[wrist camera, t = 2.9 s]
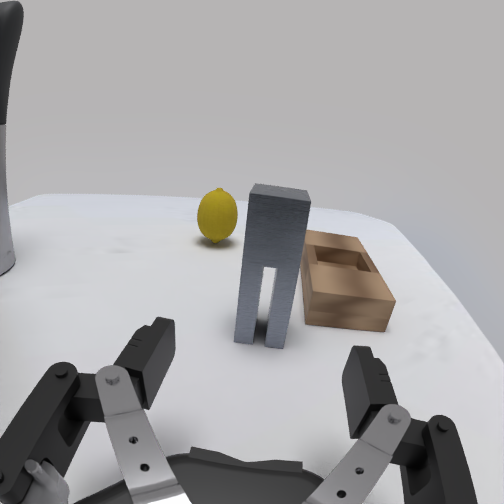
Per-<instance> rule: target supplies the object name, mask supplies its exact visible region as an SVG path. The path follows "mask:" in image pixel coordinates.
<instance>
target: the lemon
mask: <svg viewBox="0 0 504 504" xmlns="http://www.w3.org/2000/svg"><path fill="white" fill-rule="evenodd" d="M197 221H198V226H199V229H200V231H201V232H202V234H203V235H204V236H205V237H207V238H209V239H211V241H212V242H213V243H218V242H219V241H220V240H223V239H225V238H227V237H228V236H230V235H231V234H232V232H233V231H234V229H235V226H236V223H237V206H236V203H235V200H234V199H233V197H232V196H231V195H230V194H229V193H227V192H225V191H223V189H222V188H217V189H216V190H214V191H211V192H209V193H208V194H206V195H205V196H204V197H203V199H202V200H201V203H200V205H199V209H198V214H197Z"/></svg>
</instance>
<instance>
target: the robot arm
mask: <svg viewBox="0 0 504 504" xmlns="http://www.w3.org/2000/svg"><path fill="white" fill-rule="evenodd" d="M23 13H24V12H23V7H22V5H21V4H20V2H18V1H8V2H2V3H0V275H1V274H2V273H4V272H6V271H7V270H8V269H10V268H11V267H12V266H13V264H14V263H15V254H14V248H13V241H12V235H11V227H10V218H9V209H8V199H7V185H6V157H5V156H6V154H5V153H6V149H5V143H6V125H5V124H6V116H7V115H6V114H7V105H8V96H9V88H10V80H11V75H12V69H13V64H14V60H15V56H16V51H17V48H18V43H19V39H20V35H21V30H22V25H23V17H24V16H23ZM174 354H175V323H174V320H172V319H167V318H162V317H157V318H156V319H155V321H154V322H153V324H152V325H151V326H147V325H144V326H143V327H141V328H140V329H138V330H137V331H136V332H135V333H134V335H133V336H132V338H131V339H130V341H129V342H128V344H127V345H126V346H125V348H124V349H123V351H122V352H121V354H120V355H119V357H118V358H117V360H116V361H115V363H114V364H113V365H110V366H106V367H103V368H101V369H100V370H99V371H98V372H97V374H87V373H78V372H77V369H76V367H75V366H74V365H73V364H71V363H68V362H59V363H56V364H54V365H52V366H51V367H50V368H49V369H48V370H47V371H46V373H45V374H44V376H43V377H42V378H41V380H40V381H39V382H38V384H37V385H36V387H35V388H34V389H33V391H32V392H31V394H30V395H29V396H28V398H27V399H26V401H25V402H24V404H23V405H22V406H21V408H20V409H19V411H18V412H17V414H16V415H15V417H14V418H13V420H12V421H11V423H10V424H9V426H8V427H7V429H6V431H5V432H4V434H3V435H2V437H1V438H0V502H1V503H3V504H68V497H69V486H68V484H67V482H66V481H65V480H64V479H63V478H64V476H65V474H66V472H67V470H68V467H69V465H70V463H71V461H72V459H73V457H74V455H75V453H76V450H77V448H78V446H79V444H80V442H81V440H82V438H83V436H84V434H85V432H86V430H87V428H88V426H89V424H90V422H105V423H106V426H107V430H108V433H109V436H110V440H111V443H112V446H113V449H114V452H115V455H116V458H117V461H118V463H119V466H120V469H121V472H122V474H123V477H124V479H123V480H121V481H119V482H118V483H116V484H114V485H112V486H110V487H107V488H105V489H103V490H101V491H99V492H97V493H95V494H93V495H91V496H88V497H86V498H84V499H82V500H79V501H77V502H75V503H74V504H362V503H363V501H364V500H365V498H366V497H367V496H368V494H369V493H370V491H371V490H372V489H373V487H374V486H375V484H376V483H377V481H378V480H379V478H380V477H381V475H382V474H383V472H384V471H385V469H386V467H387V466H388V464H389V463H392V464H397V465H400V471H401V478H402V486H403V494H404V503H405V504H478V503H477V498H476V494H475V490H474V486H473V482H472V478H471V475H470V471H469V467H468V464H467V461H466V457H465V454H464V451H463V447H462V444H461V441H460V438H459V435H458V432H457V429H456V426H455V424H454V422H453V421H452V420H451V419H450V418H448V417H446V416H443V415H435V416H433V417H432V418H431V419H430V420H429V421H428V422H425V421H420V420H416V419H412V418H411V417H410V414H409V412H408V411H407V410H406V409H405V408H403V407H402V406H399V405H398V402H397V399H396V396H395V393H394V389H393V386H392V383H391V382H390V381H391V380H390V377H389V376H388V371H387V368H386V366H385V365H384V363H383V362H382V361H381V360H380V359H379V358H374V357H373V354H372V351H371V348H370V347H368V346H353V347H352V349H351V352H350V354H349V357H348V360H347V362H346V365H345V368H344V370H343V375H342V386H343V392H344V398H345V405H346V411H347V418H348V425H349V432H350V439H358V440H357V442H356V443H355V444H354V445H353V447H352V448H351V449H350V450H349V452H348V453H347V454H346V455H345V457H344V458H343V459H342V460H341V462H340V463H339V464H338V465H337V466H336V467H335V469H334V470H333V471H332V472H331V473H330V474H329V476H328V477H327V478H326V479H325V480H324V479H323V478H321V477H320V476H318V475H316V474H314V473H313V472H310V471H307V470H304V469H302V462H299V461H284V460H268V461H258V462H244V461H241V460H238V459H235V458H233V457H230V456H227V455H225V454H222V453H220V452H216V451H211V450H206V449H201V448H196V447H191V450H190V453H184V454H176V455H171V456H168V457H165V456H164V454H163V452H162V449H161V447H160V445H159V443H158V441H157V439H156V437H155V434H154V432H153V430H152V427H151V425H150V423H149V421H148V418H147V416H146V413H145V411H144V409H147V410H149V409H150V407H151V405H152V403H153V401H154V399H155V396H156V394H157V392H158V390H159V388H160V386H161V384H162V381H163V379H164V377H165V375H166V373H167V371H168V369H169V367H170V364H171V362H172V360H173V358H174ZM143 408H144V409H143Z"/></svg>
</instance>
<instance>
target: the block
mask: <svg viewBox="0 0 504 504" xmlns="http://www.w3.org/2000/svg"><path fill="white" fill-rule="evenodd" d="M310 204H311V200H310V197H309V195H308V192H307V191H306V190H299V189H292V188H285V187H279V186H271V185H264V184H255V185H254V187H253V188H252V190H251V191H250V194H249V203H248V212H247V221H246V231H245V240H244V249H243V259H242V268H241V278H240V287H239V297H238V307H237V316H236V326H235V336H234V342H239V343H245V344H253V338H254V332H255V326H256V320H257V313H258V306H259V299H260V292H261V285H262V278H263V270H264V267H271V268H276V271H275V277H274V283H273V290H272V296H271V302H270V308H269V314H268V321H267V330H266V339H265V346H266V347H273V348H281V349H283V347H284V342H285V337H286V333H287V328H288V323H289V318H290V314H291V309H292V304H293V299H294V294H295V289H296V284H297V278H298V273H299V268H300V262H301V257H302V251H303V246H304V240H305V235H306V229H307V223H308V217H309V211H310Z"/></svg>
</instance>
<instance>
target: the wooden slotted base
mask: <svg viewBox="0 0 504 504" xmlns="http://www.w3.org/2000/svg"><path fill="white" fill-rule="evenodd" d="M300 266H301V277H302V288H303V300H304V312H305V324H309V325H318V326H327V327H336V328H346V329H356V330H367V331H379V332H385V330H386V327H387V325H388V322H389V319H390V317H391V314H392V311H393V308H394V305H395V303H396V300H395V298H394V297H393V295H392V293H391V291H390V290H389V288H388V286H387V285H386V283H385V281H384V280H383V278H382V276H381V275H380V273H379V271H378V270H377V268H376V266H375V265H374V263H373V261H372V260H371V258H370V257H369V255H368V253H367V252H366V250H365V249H364V247H363V245H362V244H361V242H360V241H359V239H358V238H357V237H351V236H345V235H338V234H332V233H325V232H319V231H312V230H306V235H305V240H304V246H303V251H302V257H301V262H300Z"/></svg>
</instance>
